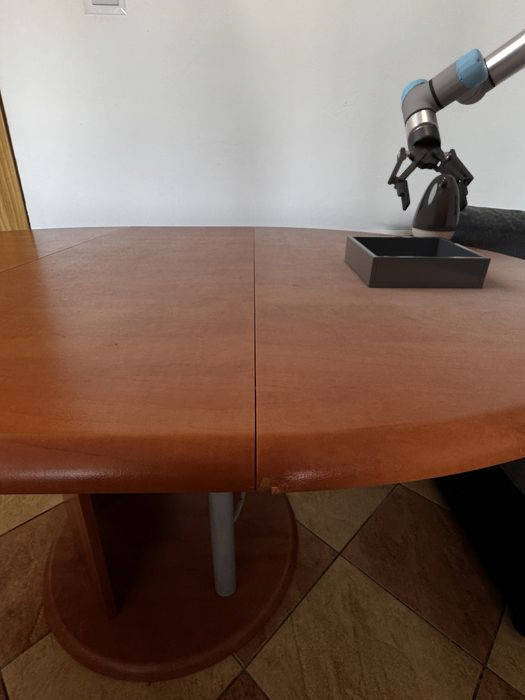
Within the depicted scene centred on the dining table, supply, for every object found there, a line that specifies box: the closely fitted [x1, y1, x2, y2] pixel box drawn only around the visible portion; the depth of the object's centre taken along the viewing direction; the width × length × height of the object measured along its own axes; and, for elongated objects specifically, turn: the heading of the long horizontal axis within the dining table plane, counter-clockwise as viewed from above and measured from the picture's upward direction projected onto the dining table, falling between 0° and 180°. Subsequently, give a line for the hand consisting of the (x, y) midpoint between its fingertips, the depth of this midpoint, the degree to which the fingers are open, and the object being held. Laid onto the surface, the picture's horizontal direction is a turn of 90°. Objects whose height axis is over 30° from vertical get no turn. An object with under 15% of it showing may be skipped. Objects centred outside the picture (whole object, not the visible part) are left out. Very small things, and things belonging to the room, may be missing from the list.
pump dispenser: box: [410, 173, 461, 241], centre depth 88 cm, size 10×10×15 cm
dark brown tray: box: [343, 235, 492, 289], centre depth 66 cm, size 19×17×5 cm
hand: (435, 207), depth 89 cm, fingers open, 13 cm apart
